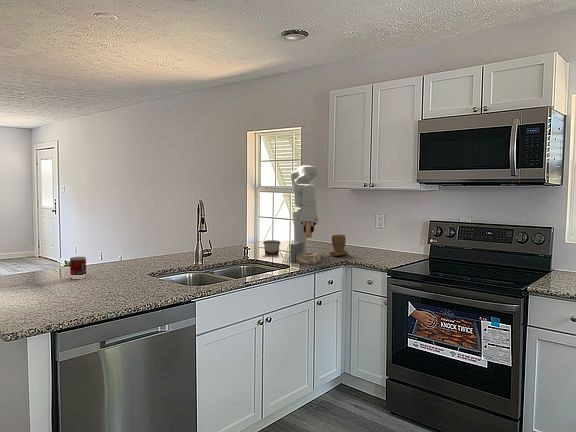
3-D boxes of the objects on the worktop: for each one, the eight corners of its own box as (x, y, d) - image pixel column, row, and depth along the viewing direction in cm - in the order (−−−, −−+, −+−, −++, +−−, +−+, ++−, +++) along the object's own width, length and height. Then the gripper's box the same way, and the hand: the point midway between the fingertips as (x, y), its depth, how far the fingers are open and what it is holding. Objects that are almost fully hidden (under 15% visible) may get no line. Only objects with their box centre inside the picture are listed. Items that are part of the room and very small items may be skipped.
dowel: (307, 236, 290) (307, 218, 289) (312, 237, 289) (312, 218, 288) (304, 237, 287) (304, 218, 286) (310, 237, 285) (310, 218, 284)
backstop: (299, 259, 299) (299, 241, 298) (303, 259, 297) (303, 241, 297) (290, 262, 286) (290, 244, 285) (294, 263, 285) (294, 244, 284)
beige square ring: (302, 259, 296) (303, 252, 296) (319, 261, 291) (320, 253, 291) (295, 262, 286) (295, 254, 285) (313, 264, 281) (313, 256, 280)
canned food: (76, 280, 232) (75, 259, 231) (67, 278, 236) (66, 258, 235) (89, 278, 238) (89, 257, 237) (80, 276, 242) (80, 256, 242)
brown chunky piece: (338, 253, 326) (338, 232, 325) (351, 255, 317) (351, 234, 316) (324, 255, 316) (324, 234, 314) (337, 257, 307) (338, 235, 306)
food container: (281, 254, 321) (281, 240, 320) (280, 255, 315) (280, 241, 314) (264, 253, 322) (264, 240, 321) (263, 255, 316) (263, 241, 315)
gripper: (294, 203, 286) (294, 232, 287) (319, 204, 279) (318, 233, 280) (299, 203, 293) (299, 231, 294) (323, 203, 286) (323, 232, 287)
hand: (308, 232), depth 287 cm, fingers closed on dowel, 4 cm apart
